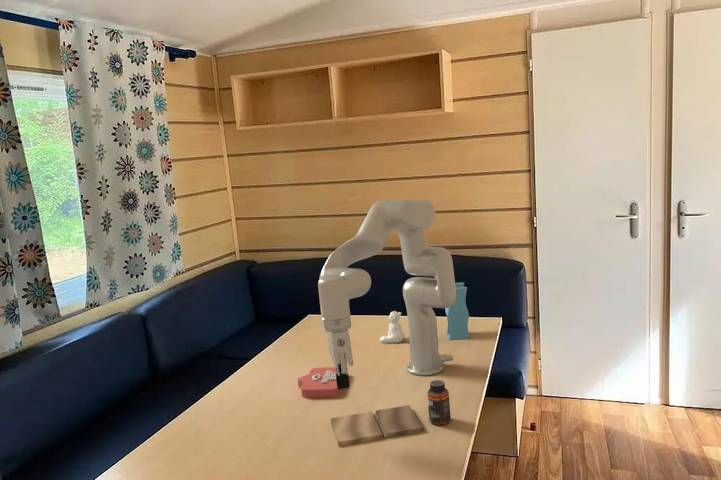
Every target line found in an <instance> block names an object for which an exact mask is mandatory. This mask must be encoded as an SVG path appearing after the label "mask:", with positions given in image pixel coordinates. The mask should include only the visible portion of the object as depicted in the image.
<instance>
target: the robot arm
mask: <svg viewBox="0 0 721 480" xmlns="http://www.w3.org/2000/svg"><path fill="white" fill-rule="evenodd" d="M436 214H437V213H436V207H435V206H434V203H432V201H430V200H427V199H386V200H385V199H383V200H378V201H375V202H374V203H373V204H372V205H371V207H370V209H369V211H368V212H367V215H366V216H365V218H364V220H363V221H362V224H361V225H360V227H359V229H358V231H357V232H356V235H355V236H353V237H352V238H350V239H349V240H346V242H344V243H343V244H341V245H340V246H339V247H337V248H336V249H335V250H334V251H332V253H330V255H329V256H328V258H327V260H326V261H325V263H324V265H323V267H322V269H321V272H320V273H319V278H318V279H319V280H318V282H317V286H318V287H317V288H318V297H319V305H320V314H321V324H322V330H323V331H324V332H327V339H328V340H327V341H328V346H329V347H328V348H329V354H330V358H331V360H332V363H333V365H334V367H335V368H336V382H337V387H338V389H342V390H344V389H349V388H350V376H349V371H348V370H349V369H348V366H350V367H354V366H353V365H354V359H353V352H352V351H353V350H352V343H351V338H350V332H349V330H350V329H351V328H352V321H351V311H350V300H351V299H355V298H361V297H362V296H364V295H366V294H367V293H368V292H369V290H370V289H371V286H372V279H371V278H372V277H371V275H370V274H369V272H367V271H366V270H365V269H361V268H354V267H353V268H352V267H349V266H350V265H352V264H355V263H357V262H359V261H363V260H365V259H368V258H371V257H373V256H376V255H378V254H380V253H381V252H382V251H383V249H384V248H385V245H386V243H387V241H388V238H389V237H390V236H391V233H392V231H393V230H395V231H396V233H397V235H398V237H399V242H400V248H401V249H400V250H401V256H402V263H403V267H404V271H405V272H406V273H407V274H409V275H412V276H415V277H410V278H408V279H407V280H406V281H404V284H403V285H402V296H403V300H404V303H405V307H406V313H407V324H408V340H409V353H410V362H408V363H407V364H406V371H407V372H408V373H410V374H412V375H417V376H432V375H437V374H439V373H441V372H442V371H443V370H445V362H451V361H452V362H453V361H454V356H453V354H449V355H448V354H447V353H442V354H441V353H439V339H438V338H439V337H438V323H437V322H438V321H437V316H436V315H437V314H436V313H435V311H434V309H433V308H435V309H445V308H449V307H451V306H452V305H453V304H454V302H455V299H456V287H455V283H456V280H455V273H454V272H455V271H454V262H453V257H452V254H451V253H450V251H449V250H448V249H447V248H446V247H441V246H430V245H429V244H428V240H427V233H426V230H425V229H426V228H429V227H431V226H432V225H433V223H434V222H435V219H436Z"/></svg>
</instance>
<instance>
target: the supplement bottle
mask: <svg viewBox="0 0 721 480" xmlns="http://www.w3.org/2000/svg"><path fill="white" fill-rule="evenodd" d="M426 395H427V406H428V407H427V408H428V419H429V420H428V421H429V422H430V423H431V424H433V425H435V426H445V425H447V424H448V423H450V422H451V405H450V392H449V389H448V388H446V384H445V381H444V380H440V379H436V380H432V381H430V383H429V389H428V390H427V394H426Z"/></svg>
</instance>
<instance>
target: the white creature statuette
mask: <svg viewBox="0 0 721 480" xmlns="http://www.w3.org/2000/svg"><path fill="white" fill-rule="evenodd" d="M401 316H402V312H401V311H399V312H398V311H396V310H393V311H391V312H390V313H389V317H388V323H389V324H388V332H387V335H383V336H380V338H379V343H381V344H399V343H401V342H403V341H404V340H405V333H404V331H403V329H402V326H401V324H400V322H399V320H400V318H401Z"/></svg>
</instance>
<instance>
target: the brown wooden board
mask: <svg viewBox="0 0 721 480" xmlns="http://www.w3.org/2000/svg"><path fill="white" fill-rule="evenodd" d="M372 413H373V415H374V417H375V420H376V422H377V424H378V426H379V428H380V430H381V432H382V435H383V439H387V438H391V437H399V436H404V435H410V434H415V433H421V432H422V433H423V432H424V426H423V425H422V424H421V422H420V419H419V418H418V416H417V415H416V413H415V412H414V410H413V409H412V406H410V404H407V405H402V406H395V407H390V408H384V409H379V410H375V412H372Z"/></svg>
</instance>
